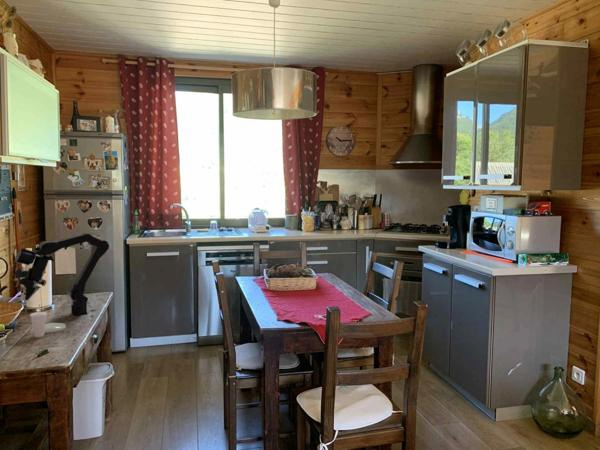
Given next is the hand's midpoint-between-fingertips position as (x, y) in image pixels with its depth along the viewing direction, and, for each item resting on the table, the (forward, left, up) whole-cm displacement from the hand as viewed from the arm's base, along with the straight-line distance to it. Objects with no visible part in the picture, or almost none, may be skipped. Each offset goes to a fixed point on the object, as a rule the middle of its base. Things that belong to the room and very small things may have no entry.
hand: (26, 299), depth 217 cm
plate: (-9, +16, -11) cm, 21 cm away
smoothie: (-3, +24, -11) cm, 26 cm away
